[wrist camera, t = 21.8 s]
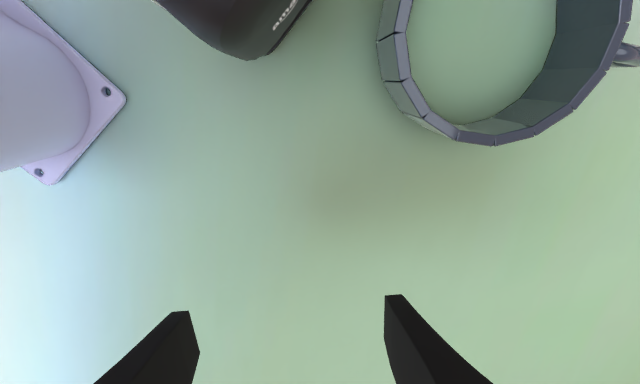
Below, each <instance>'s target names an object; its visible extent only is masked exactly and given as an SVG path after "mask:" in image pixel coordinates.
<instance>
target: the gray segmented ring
mask: <svg viewBox="0 0 640 384" xmlns="http://www.w3.org/2000/svg"><path fill="white" fill-rule="evenodd" d="M412 3H413V0H384V2H383V7H382V12H381V17H380V22H379V28H378V33H377V38H376V41H377V42H378V43H376V47H377V54H378V60H379V66H380V72H381V79H382V80H383V84H384V86H385V87H386V89H387V91H388V92H389V94H390V96H391V97H392V99H393V100H394V102H395V104H396V105H397V107H398V108H399V110H400V111H402V113H403V114H405V115H406V116H408V117H409V118H411V119H412V120H414V121H415V122H417V123H418V124H420V125H421V126H423V127H424V128H426V129H428V130H430V131H432V132H435V133H437V134H440V135H442V136H445V137H447V138H449V139H452V140H455V141H458V142H465V143H472V144H478V145H485V146H499V145H503V144H507V143H511V142H515V141H519V140H523V139H527V138H531V137H534V135H538V134H540V133H541V132H543V131H544V130H546V129H547V128H549V127H551V126H552V125H554V124H555V123H557V122H558V121H560V120H561V119H563V118H565V117H566V116H568V115H569V114H571V113H572V112H573V110H576V109H577V108H578V106H579V105H580V104H581V103H582V102H583V101H584V99H585V98H586V97H587V96H588V95H589V94H590V92H591V91H592V90H593V89H594V88H595V87H596V85H597V84H598V83H599V82H600V81H601V80H602V78H603V77H604V76H605V75H606V72H605V71H608V70H609V69H610V68H614V67H640V46H639V45H633V44H628V43H623V42H622V40H623V37H624V35H625V33H626V31H627V29H628V26H629V23H626V22H629V21H630V20H631V11H632V3H633V0H557V20H556V36H555V38H554V41H553V43H552V46H551V49H550V51H549V54H548V57H547V59H546V62H545V65H544V67H543V70H542V71H541V72H540V74H539V75H538V76H537V78H536V79H535V80H534V81H533V83H532V84H531V85H530V86H529V88H528V89H527V90H526V92H525V93H524V94H523V95H522V97H521V98H520V99H519V100H517V101H516V102H514V103H513V104H511V105H510V106H508V107H507V108H505V109H504V110H502V111H501V112H499V113H498V114H496V115H495V116H494V117H492V118H488V119H484V120H480V121H476V122H472V123H468V124H464V125H456V124H451V123H449V122H448V121H446V120H445V119H443V118H442V117H441V116H439V115H438V114H436V113H435V112H433V111H432V110H431V109H430V107H429V106H428V104H427V102H426V101H425V99H424V97H423V95H422V94H421V92H420V90H419V88H418V87H417V85H416V83H415V82H414V80H413V78H412V76H411V69H410V61H409V53H408V45H407V37H406V30H407V26H408V21H409V17H410V12H411V8H412Z"/></svg>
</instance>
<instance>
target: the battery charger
mask: <svg viewBox="0 0 640 384" xmlns="http://www.w3.org/2000/svg"><path fill="white" fill-rule="evenodd" d="M151 1H152V2H154V3H155V4H157V5H159V6H160V7H162V8H164V9H165V10H167V11H168V12H169V13H171V14H172V15H173V16H174V17H175V18H176V19H177V20H179V21H180V22H181V23H182V24H183V25H184V26H185V27H187V28H188V29H189V30H190V31H191V32H192V33H194V34H195V35H196V36H197V37H198V38H200V39H201V40H203V41H204V42H206V43H207V44H208V45H210V46H211V47H213V48H215V49H217V50H219V51H221V52H223V53H226V54H228V55H231V56H234V57H236V58H239V59H242V60H246V61H248V60H255V59H257V58H259V57H262V56H265V55H268V54H270V53H271V52H272V51H273V50H274V49H275V48H276V47H277V46H278V45H279V44H280V42H281V41H282V40H283V38H284V37H285V36H286V35H287V33H288V32H289V31H290V29H291V28H292V27H293V25H294V24H295V23H296V21H297V20H298V19H299V17H300V16H301V15H302V13H303V12H304V11H305V10H306V8H307V7H308V6H309V4H310V3H311V2H312V0H151Z"/></svg>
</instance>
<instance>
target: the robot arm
mask: <svg viewBox="0 0 640 384" xmlns="http://www.w3.org/2000/svg"><path fill="white" fill-rule="evenodd" d="M106 88H109V90H110V91H111V94H110V96H109V95H107V94H106V91H105V90H106ZM125 103H126V97H125V95H124V94H123V92H122V91H120V90H119V89H118V88H117V87H116V86H115V85H114V84H113V83H112V82H110V81H109V80H108V79H107V78H106V77H105V76H104V75H103V74H102V73H100V72H99V71H98V70H97V69H96V68H95V67H94V66H93V65H92V64H90V63H89V62H88V61H87V60H86V59H85V58H84V57H83V56H82V55H81V54H79V53H78V52H77V51H76V50H75V49H74V48H73V47H72V46H71V45H69V44H68V43H67V42H66V41H65V40H64V39H63V38H62V37H61V36H59V35H58V34H57V33H56V32H55V31H54V30H53V29H52V28H51V27H49V26H48V25H47V24H46V23H45V22H44V21H43V20H42V19H41V18H40V17H38V16H37V15H36V14H35V13H34V12H33V11H32V10H31V9H30V8H28V7H27V6H26V5H25V4H24V3H23V2H22V1H21V0H0V172H3V171H6V170H9V169H13V168H16V167H19V166H20V167H22V168H23V169H24V170H26V171H27V172H28V173H30V174H31V175H33V176H34V177H35V178H37V179H38V180H39V181H41V182H42V183H44V184H45V185H53V184H56V183H57V182H59V180H60V179H61V178H62V177H63V176H64V175H65V173H66V172H67V171H68V170H69V169H70V168H71V166H72V165H73V164H74V163H75V162H76V161H77V159H78V158H79V157H80V156H81V155H82V154H83V152H84V151H85V150H86V149H87V148H88V147H89V146H90V144H91V143H92V142H93V141H94V140H95V139H96V137H97V136H98V135H99V134H100V133H101V132H102V130H103V129H104V128H105V127H106V126H107V125H108V123H109V122H110V121H111V120H112V119H113V118H114V116H115V115H116V114H117V113H118V112H119V111H120V109H121V108H122V107H123V106H124V105H125ZM40 169H41V170H42V171H43V173H44V174H42V173H41V172H40ZM384 341H385V345H386V349H387V354H388V358H389V362H390V366H391V369H392V372H393V375H394V378H395V381H396V384H493V383H492V382H491V381H489V380H488V379H487V378H486V377H484V376H483V375H482V374H481V373H480V372H478V371H477V370H476V369H475V368H474V367H473V366H471V365H470V364H469V363H468V362H467V361H466V360H465V359H464V358H463V357H461V356H460V355H459V354H458V353H457V352H456V351H455V350H454V349H453V348H452V347H451V346H450V345H449V344H448V343H447V342H446V341H445V340H444V339H443V338H442V337H441V336H440V335H439V334H438V333H437V332H436V331H435V330H434V329H433V328H432V327H431V326H430V325H429V324H428V323H427V322H426V321H425V320H424V319H423V318H422V317H421V315H420V314H419V313H418V312H417V311H416V310H415V309H414V308H413V307H412V305H411V304H410V303H409V302H408V301H407V300H406V298H405V297H404V296H403V295H401V294H399V295H386V296H385V311H384ZM199 355H200V351H199V347H198V344H197V340H196V336H195V332H194V329H193V325H192V321H191V317H190V314H189V311H178V312H171V313H170V314H169V315H168V316H167V317H166V318H165V319H164V320H163V321H161V322H160V323H159V324H158V325H157V326H156V327H155V328H154V329H153V330H152V331H151V332H150V333H149V334H148V335H147V336H146V337H145V338H144V339H143V340H142V341H140V342H139V343H138V344H137V345H136V346H135V347H134V348H133V349H132V350H131V351H130V352H129V353H128V354H127V355H125V356H124V357H123V358H122V359H121V360H120V361H119V362H118V363H117V364H116V365H114V366H113V367H112V368H111V369H110V370H109V371H108V372H106V373H105V374H104V375H103V376H102V377H101V378H100V379H98V380H97V381H96V382H95V383H94V384H192V381H193V378H194V374H195V370H196V366H197V363H198V359H199Z"/></svg>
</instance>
